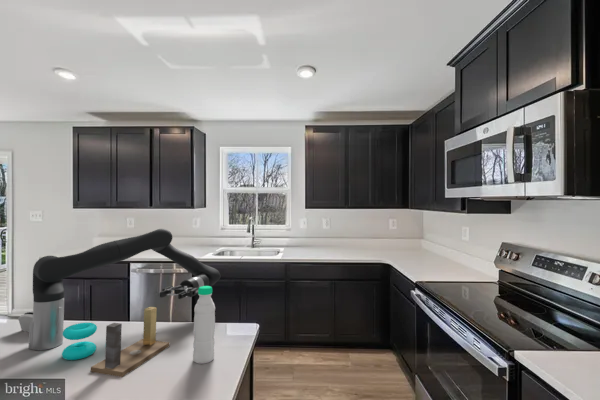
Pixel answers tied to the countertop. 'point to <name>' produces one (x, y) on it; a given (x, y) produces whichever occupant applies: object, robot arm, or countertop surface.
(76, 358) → the donuts
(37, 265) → the robot arm
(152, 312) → the brass leg
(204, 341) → the water bottle
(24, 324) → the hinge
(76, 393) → the countertop surface
